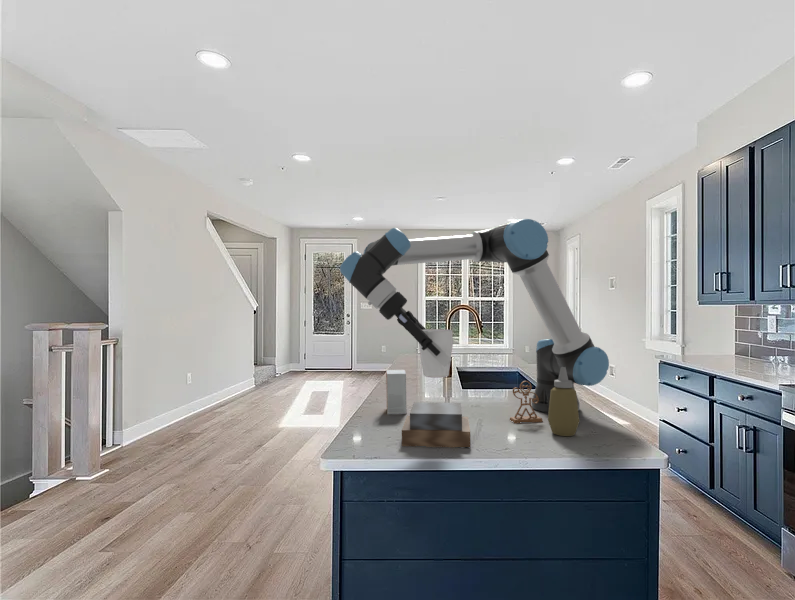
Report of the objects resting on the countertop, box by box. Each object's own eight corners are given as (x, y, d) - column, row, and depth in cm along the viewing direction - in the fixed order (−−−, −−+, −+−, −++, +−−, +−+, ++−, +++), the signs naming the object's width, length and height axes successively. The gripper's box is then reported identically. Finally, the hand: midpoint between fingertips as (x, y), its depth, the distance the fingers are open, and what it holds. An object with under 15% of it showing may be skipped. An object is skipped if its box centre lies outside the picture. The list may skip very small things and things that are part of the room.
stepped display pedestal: (468, 431, 135) (468, 402, 135) (470, 447, 120) (470, 415, 120) (407, 429, 137) (406, 401, 137) (401, 446, 122) (401, 414, 122)
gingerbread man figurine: (536, 418, 148) (536, 379, 148) (542, 421, 144) (542, 381, 144) (509, 420, 147) (509, 380, 147) (514, 423, 143) (514, 382, 143)
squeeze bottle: (564, 439, 126) (563, 370, 126) (541, 432, 133) (541, 366, 133) (586, 435, 130) (585, 368, 130) (563, 428, 137) (562, 364, 137)
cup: (452, 373, 132) (452, 329, 132) (453, 378, 123) (453, 331, 123) (419, 372, 133) (419, 329, 133) (417, 378, 124) (417, 331, 124)
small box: (386, 408, 163) (386, 369, 163) (405, 408, 163) (405, 369, 163) (386, 414, 155) (386, 373, 155) (406, 414, 155) (406, 373, 155)
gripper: (383, 309, 141) (439, 364, 139) (371, 311, 119) (436, 377, 117) (401, 290, 140) (457, 346, 138) (392, 289, 118) (459, 355, 117)
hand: (448, 360), depth 128 cm, fingers closed on cup, 9 cm apart
